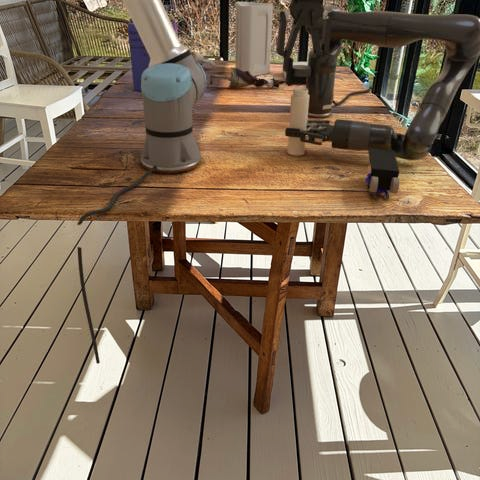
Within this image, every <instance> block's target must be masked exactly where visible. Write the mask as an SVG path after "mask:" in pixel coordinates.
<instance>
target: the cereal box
mask: <svg viewBox="0 0 480 480" xmlns="http://www.w3.org/2000/svg"><path fill="white" fill-rule="evenodd" d="M171 24H172V26H173V28H174V31H175V33H176V35H177V37H178V38H179V35H178V23H175V22H174V23H172V22H171ZM126 25H127V34H128V43H129V44H128V45H129V55H130V64H131V65H130V66H131V73H132V74H131V76H132V85H133V91H134V92H136V91H137V92H138V91H139V92H142V90H141V82H142V81H141V77H142V73H143V72H144V70H146V69H147V68H149V67H148V66H149V63H150V56H149V54H148V52H147V50H146V48H145V46H144V44H143V42H142V39H141V37H140V35H139V33H138V31H137V29H136V27H135V25H134V23H133V21H131V22H130V21H129V22H128V23H127V24H126Z"/></svg>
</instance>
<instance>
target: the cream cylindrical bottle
mask: <svg viewBox="0 0 480 480" xmlns="http://www.w3.org/2000/svg"><path fill="white" fill-rule="evenodd" d="M308 92H309V91H308V89H307V88H306V87H303V86H299V87H294V88H292V93H291V94H290V105H289V106H290V107H289V122H288V128H297V129H307V121H308V118H309V116H308V107H309V96H310V95H309V94H308ZM305 136H307V135H305ZM286 151H287V152H286V153H287V154H289V155H290V156H295V157H296V156H297V157H298V156H303V155H304V154H306V153H305V151H306V142H301V141H300V139H299V138H297V137H288V136H287V150H286Z"/></svg>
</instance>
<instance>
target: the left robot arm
mask: <svg viewBox="0 0 480 480" xmlns="http://www.w3.org/2000/svg"><path fill="white" fill-rule="evenodd" d="M122 3H123V4H124V7H125V8H126V10H127V13H128V15H129V17H130V19H131V22H133V23H134V25H135V27H136V29H137V31H138V33H139V35H140V37H141V39H142V42H143V44H144V46H145V48H146V50H147V52H148V54H149V56H150V63H149V66H148V67H149V68H147V69H146V70H144V72H143V73H142V77H141V81H142V82H141V90H142V91H141V95H142V97H141V98H142V106H143V115H144V125H145V138H144V142H143V146H142V150H141V154H140V162H141V166H142V168H144V169H145V170H146V171H147V172H146V173H144V175H142V176H141V177H140V178H139V179H138V180H136V182H134V183H132V184H130V185H127V186H125V187H123V188H122V189H120V190H118V191H117V192H116V193H115V194H114V195H113V196H112V198H111V200H110V202H109V204H108V205H107V206H106V207H104V208H101V209H96V210H91V211H88V212H86V213H84V214H82V216H81V217H80V218H79V219H78V222H77V223H76V224H77V226H81V225H82V224H83V223H84V221H85V220H86V219H87V218H88V217H91V216H94V215H98V214H99V215H100V214H103V213H106V212H108V211H109V210H110V209H111V208H112V207H113V206H114V205H115V203H116V200H117V198H118V197H119V196H121V195H122V194H123V193H125V192H127V191H130V190H132V189H134V188H135V187H137V186H139V185H140V184H141V183H142V182H143V181H145V179H146V178H147V177H148V176H150V174H152V173H156V174H163V175H164V174H165V175H169V174H170V175H172V174H173V175H175V174H182V173H187V172H190V171H193V170H195V169H197V168H198V167H199V166H201V163H202V155H201V151H200V149H199V146H198V143H197V141H196V137H195V135H194V130H193V129H194V126H193V108H194V106H195V105H196V104H198V103H199V102H200V101H201V100H202V98H203V96H204V94H205V91H206V88H207V76H206V72H205V70H204V68H203V67H202V65H200V64H199V63H197V62H196V61H194V59H193V56H192V54H191V52H192V51H191V50H190V48H189V47H188V46H186V45H183V44H182V43H181V42H180V40H179V36H178V37H177V35H176V33H175V31H174V28H173V26H172V24H171V23H172V22H171V19H170V18H169V15H168V12H167V10H166V8H165V5H164V4H163V1H162V0H122ZM324 6H325V5H324V0H290V5H289V6H288V8H286V9H285V8H284V9H283V10H282V9H279V10H278V11H277V17H278V33H277V41H276V42H277V43H276V54H277V55H279V56H280V57H282V58H283V60H282V70H284V71H285V72H286V79H285V80H286V83H285V85H286V86H288V87H292V84H291V81H292V69H293V62H294V58H293V57H291V56H292V53H293V51H294V47H295V45H296V42H297V38H298V35H299V33H300V31H301V29H302V27H303V26H305V25H308V26H309V28H310V32H311V35H310V37H311V44H312V48H313V51H314V57H311V61H310V66H311V67H312V75H311V76H309V81H308V83H309V84H310V85H311V86H314V83H315V73H316V71H319V69H320V60H321V58H322V57H323V56H325V55H326V56H327V55H328V54H329V45H330V34H331V23H332V20H333V18H334V15H335V13H334V12H332V11H328V10H325V9H324ZM322 14H323V19H324V22H323V34H322V47H321V48H320V41H319V34H318V23H317V21H318V19H319V18H320V17H321V15H322ZM289 15H290V16H291V18H292V20H293V21H292V24H291V30H290V32H289V36H288V39H287V41H286V34H287V20H288V19H289ZM285 43H286V44H285ZM82 252H83V251H82V247H80V246H77V263H78V273H79V282H80V289H81V294H82V300H83V303H84V304H83V305H84V308H85V309H84V310H85V315H86V320H87V324H88V329H89V333H90V338H91V341H92V347H93V351H94V358H95V362H96V364H97V365H98V364H100V362H101V361H100V357H99V355H100V354H99V349H98V345H97V340H96V336H95V335H96V334H95V330H94V326H93V320H92V316H91V312H90V306H89V301H88V297H87V290H86V284H85V277H84V267H83V256H82V255H83V253H82Z"/></svg>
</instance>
